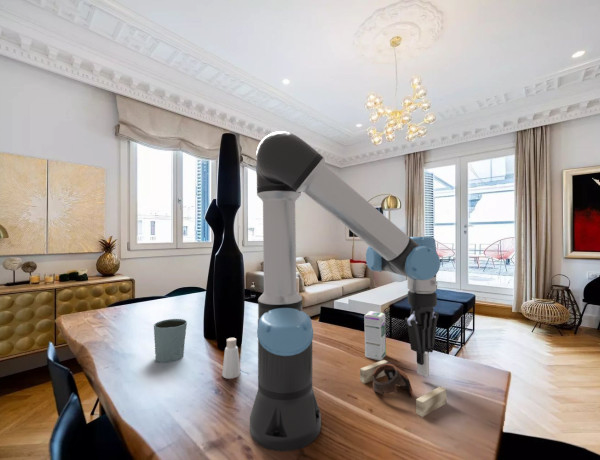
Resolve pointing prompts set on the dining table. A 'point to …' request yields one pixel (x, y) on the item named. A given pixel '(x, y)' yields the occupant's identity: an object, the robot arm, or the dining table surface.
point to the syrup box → (375, 335)
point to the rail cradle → (423, 403)
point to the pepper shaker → (231, 360)
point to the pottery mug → (391, 379)
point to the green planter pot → (169, 340)
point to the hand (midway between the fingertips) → (423, 374)
